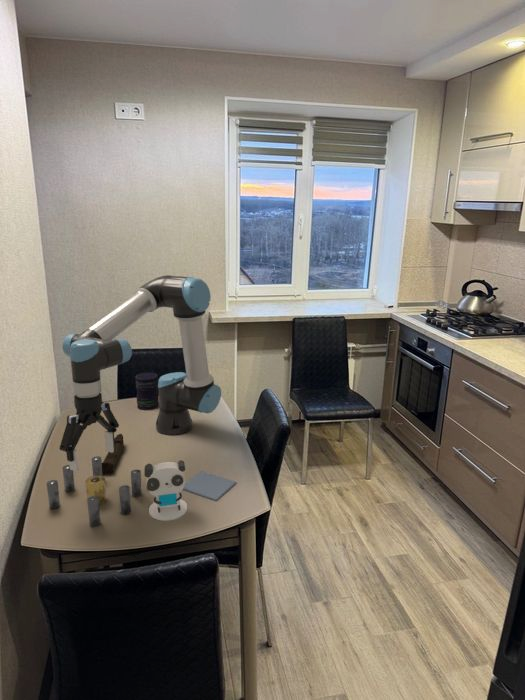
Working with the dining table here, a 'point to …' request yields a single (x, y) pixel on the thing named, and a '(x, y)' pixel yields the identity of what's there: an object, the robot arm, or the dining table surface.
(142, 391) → the storage jar
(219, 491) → the slate board
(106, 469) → the hand tool
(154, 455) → the dining table surface
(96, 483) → the gold metal cylinder
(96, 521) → the spacer posts
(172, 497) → the panda figurine
